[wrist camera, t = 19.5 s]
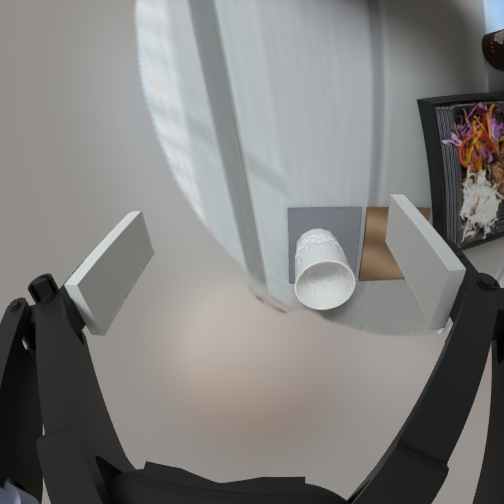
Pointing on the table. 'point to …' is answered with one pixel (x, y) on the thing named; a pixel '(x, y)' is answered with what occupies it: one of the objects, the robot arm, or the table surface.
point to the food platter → (466, 165)
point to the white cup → (322, 271)
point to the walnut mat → (379, 246)
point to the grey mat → (328, 218)
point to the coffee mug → (494, 49)
